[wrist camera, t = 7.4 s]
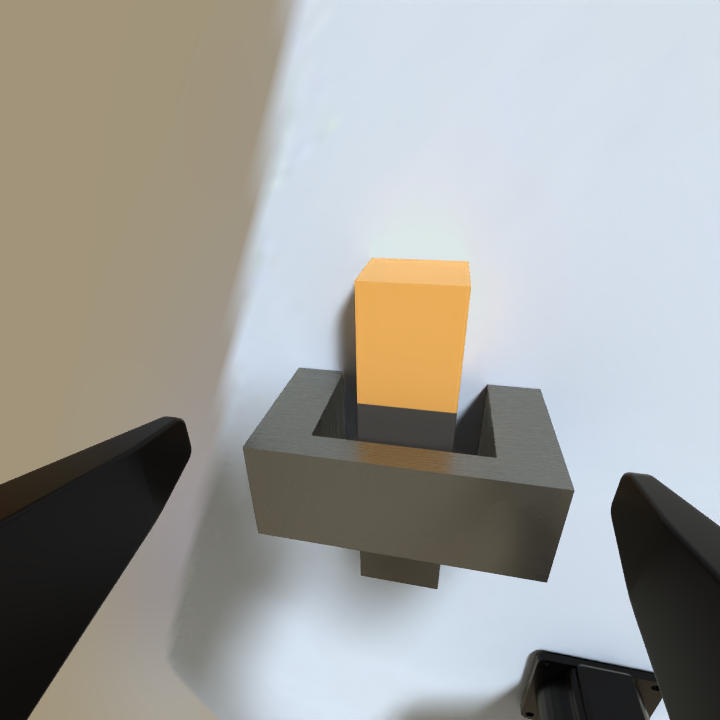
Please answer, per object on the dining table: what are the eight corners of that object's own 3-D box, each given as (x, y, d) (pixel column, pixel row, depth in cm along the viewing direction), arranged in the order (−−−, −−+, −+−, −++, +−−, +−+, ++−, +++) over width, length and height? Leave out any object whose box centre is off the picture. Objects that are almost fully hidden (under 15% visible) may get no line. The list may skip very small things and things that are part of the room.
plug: (439, 534, 21) (437, 589, 19) (372, 524, 22) (360, 575, 19) (468, 261, 15) (471, 286, 12) (371, 257, 15) (354, 280, 13)
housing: (523, 467, 18) (547, 582, 13) (305, 440, 20) (258, 533, 15) (540, 389, 16) (574, 490, 12) (298, 367, 18) (242, 447, 13)
